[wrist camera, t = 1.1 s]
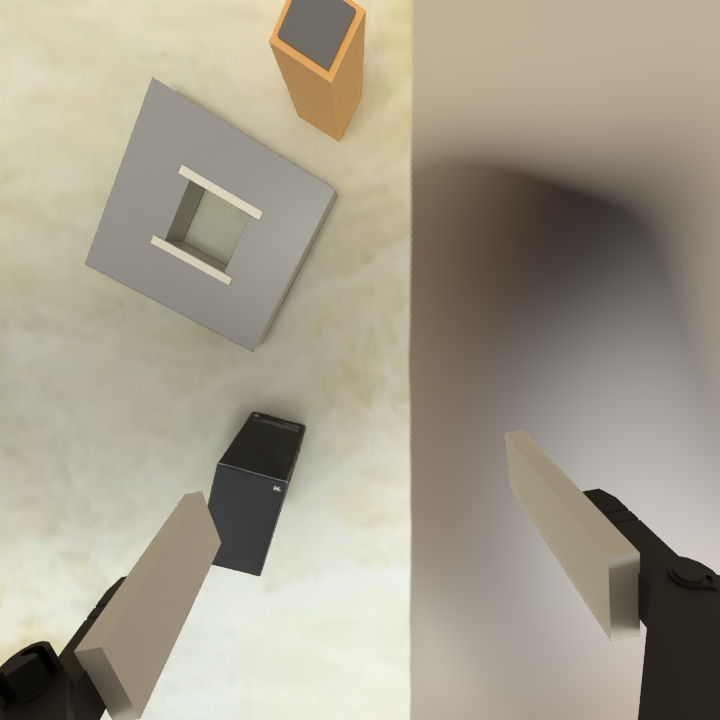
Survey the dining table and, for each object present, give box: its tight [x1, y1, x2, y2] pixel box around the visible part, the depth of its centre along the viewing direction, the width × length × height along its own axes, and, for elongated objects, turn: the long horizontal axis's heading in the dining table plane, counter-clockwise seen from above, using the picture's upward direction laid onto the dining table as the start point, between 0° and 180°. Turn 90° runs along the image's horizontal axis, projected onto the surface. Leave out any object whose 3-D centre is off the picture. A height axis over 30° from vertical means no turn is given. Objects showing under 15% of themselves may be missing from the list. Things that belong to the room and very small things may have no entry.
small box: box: [208, 412, 306, 576], centre depth 37 cm, size 11×6×10 cm, turn 163°
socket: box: [85, 77, 337, 352], centre depth 33 cm, size 16×16×4 cm
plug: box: [269, 0, 366, 141], centre depth 27 cm, size 4×4×12 cm
